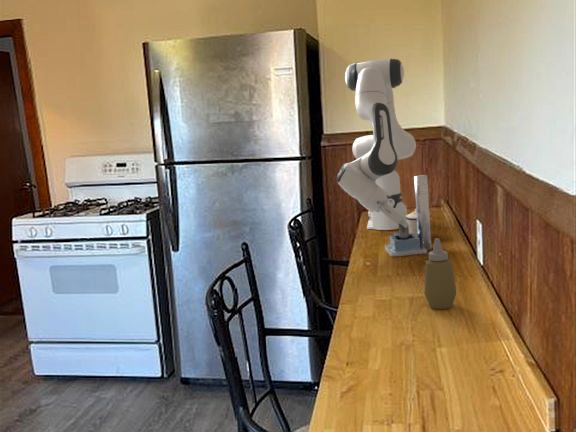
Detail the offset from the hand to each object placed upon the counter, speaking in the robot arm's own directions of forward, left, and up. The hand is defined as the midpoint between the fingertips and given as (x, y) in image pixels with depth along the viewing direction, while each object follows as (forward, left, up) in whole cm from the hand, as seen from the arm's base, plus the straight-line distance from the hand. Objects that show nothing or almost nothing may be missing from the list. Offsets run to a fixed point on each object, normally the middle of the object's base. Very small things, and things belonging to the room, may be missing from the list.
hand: (405, 224), depth 210 cm
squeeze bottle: (+58, -4, -10) cm, 59 cm away
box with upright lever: (-3, +1, -10) cm, 10 cm away
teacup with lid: (-17, +8, -10) cm, 21 cm away
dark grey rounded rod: (0, -1, -10) cm, 10 cm away
